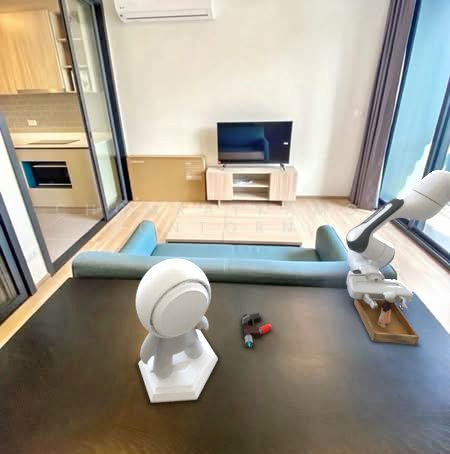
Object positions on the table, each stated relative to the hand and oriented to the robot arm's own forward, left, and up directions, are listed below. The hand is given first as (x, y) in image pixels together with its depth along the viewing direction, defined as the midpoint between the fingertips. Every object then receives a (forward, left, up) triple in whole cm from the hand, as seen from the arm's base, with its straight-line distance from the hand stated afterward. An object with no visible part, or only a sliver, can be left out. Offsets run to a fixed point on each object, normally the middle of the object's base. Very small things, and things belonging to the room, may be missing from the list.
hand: (389, 308), depth 81 cm
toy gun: (+43, +7, -8) cm, 44 cm away
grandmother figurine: (0, -1, -8) cm, 8 cm away
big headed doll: (+66, +19, -8) cm, 69 cm away
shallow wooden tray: (0, -1, -8) cm, 8 cm away
